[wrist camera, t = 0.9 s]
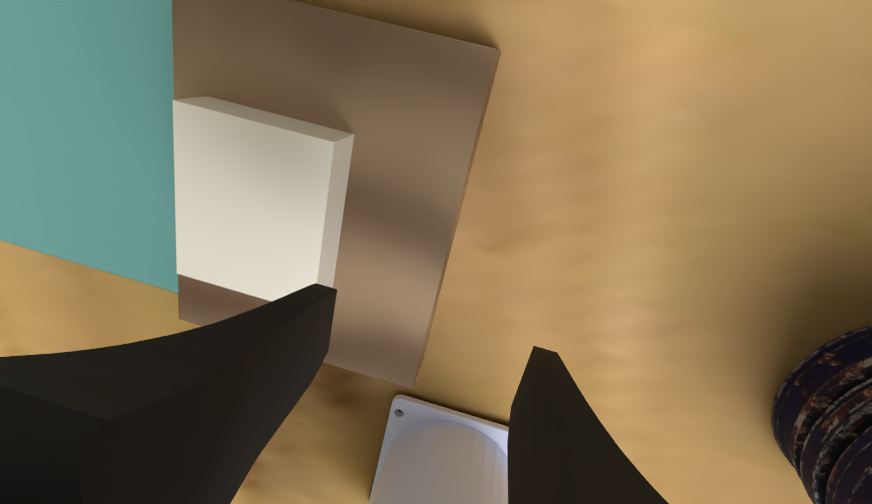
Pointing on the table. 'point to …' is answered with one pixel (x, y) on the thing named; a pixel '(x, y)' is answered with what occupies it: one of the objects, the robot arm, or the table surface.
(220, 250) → the ceramic tile
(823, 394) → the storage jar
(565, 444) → the robot arm
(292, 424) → the table surface
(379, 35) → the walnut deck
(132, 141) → the teal mat
